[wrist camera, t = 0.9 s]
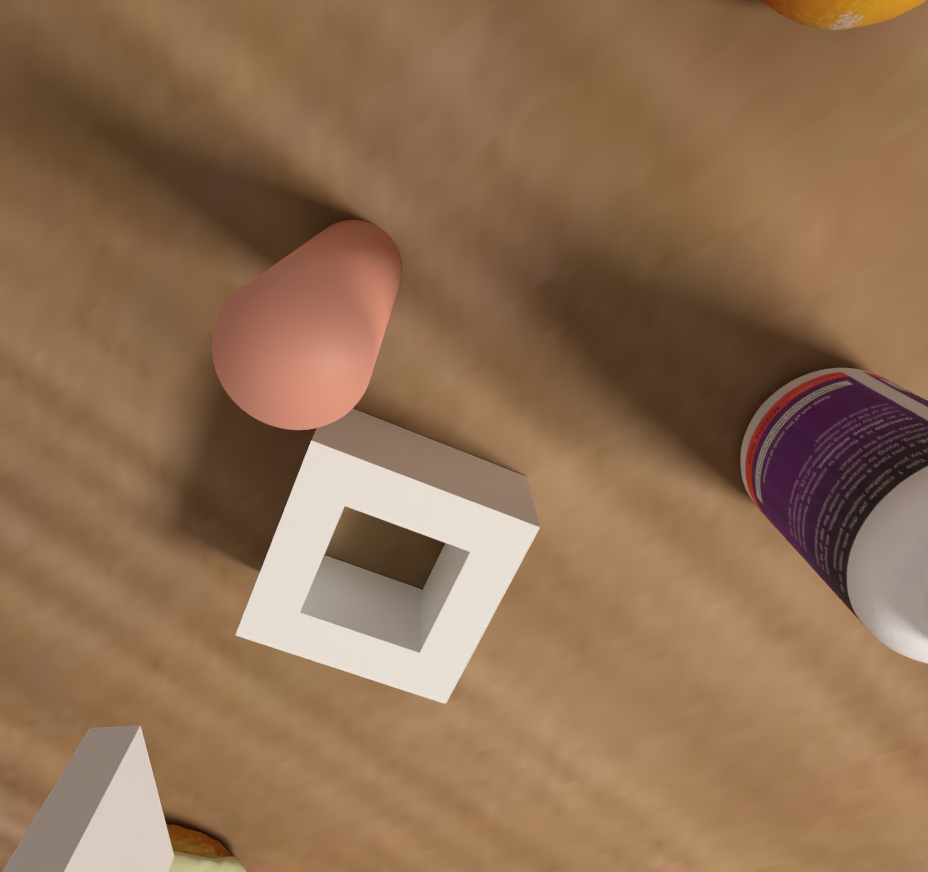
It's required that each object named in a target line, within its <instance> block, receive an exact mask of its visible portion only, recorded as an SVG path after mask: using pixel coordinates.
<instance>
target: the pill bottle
mask: <svg viewBox="0 0 928 872" xmlns="http://www.w3.org/2000/svg"><path fill="white" fill-rule="evenodd" d="M740 464H741V474H742V479H743V483H744V485H745V488H746V490H747V492H748V494H749V496H750V497H751V499H752V500H753V502H754V503H755V504H756V506H757V507H758V508H759V509H760V511H761V512H762V513H763V514H764V515H765V516H766V517H767V518H768V520H769V521H770V522H771V523H772V524H773V525H774V526H775V527H776V528H777V529H778V530H779V531H780V533H781V534H782V535H783V536H784V537H785V538H786V539H787V540H788V542H789V543H790V544H791V545H792V546H793V547H794V548H795V549H796V550H797V552H798V553H799V554H800V555H801V556H802V557H803V558H804V559H805V560H806V561H807V563H808V564H809V565H810V566H811V567H812V568H813V569H814V570H815V571H816V572H817V574H818V575H819V576H820V577H821V578H822V579H823V580H824V581H825V582H826V584H827V585H828V586H829V587H830V588H831V589H832V590H833V591H834V592H835V594H836V595H837V596H838V597H839V598H840V599H841V600H842V601H843V602H844V604H845V605H846V606H847V607H848V608H849V609H850V610H851V612H852V613H853V614H854V615H855V616H856V617H857V618H858V619H859V620H860V621H861V623H862V624H863V625H864V626H865V627H866V628H867V629H868V630H869V631H870V632H871V633H872V634H873V635H874V636H875V637H876V638H877V639H878V640H879V641H881V642H882V643H883V644H885V645H886V646H887V647H889V648H890V649H892V650H894V651H896V652H898V653H900V654H902V655H904V656H906V657H909V658H912V659H914V660H918V661H921V662H925V663H928V401H927V400H925V399H923V398H921V397H919V396H917V395H915V394H913V393H912V392H910V391H908V390H906V389H904V388H902V387H900V386H898V385H896V384H895V383H893V382H891V381H889V380H887V379H885V378H883V377H880V376H878V375H876V374H873V373H871V372H867V371H864V370H860V369H853V368H830V369H824V370H819V371H815V372H812V373H809V374H806V375H803V376H801V377H799V378H797V379H795V380H793V381H791V382H789V383H788V384H786V385H784V386H783V387H781V388H780V389H779V390H777V391H776V392H775V393H774V394H772V395H771V396H770V397H769V398H768V399H767V400H766V401H765V402H764V403H763V404H762V405H761V406H760V408H759V409H758V411H757V412H756V413H755V415H754V417H753V418H752V420H751V422H750V423H749V426H748V428H747V430H746V433H745V436H744V439H743V442H742V447H741V455H740Z"/></svg>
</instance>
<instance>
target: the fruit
mask: <svg viewBox="0 0 928 872" xmlns="http://www.w3.org/2000/svg"><path fill="white" fill-rule="evenodd" d="M763 1H764V2H765V3H766V4H767V5H769V6H770V7H771V8H772V9H774V10H775V11H776V12H778V13H779V14H781V15H783V16H785V17H787V18H789V19H791V20H793V21H795V22H797V23H800V24H803V25H808V26H812V27H815V28H819V29H827V30H843V29H850V28H856V27H862V26H868V25H872V24H876V23H880V22H883V21H887V20H890V19H892V18H894V17H897V16H899V15H901V14H902V13H905V12H907V11H909V10H911V9H913V8H915V7H917V6H918V5H920V4H922V3H923V2H925V1H926V0H763Z"/></svg>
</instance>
